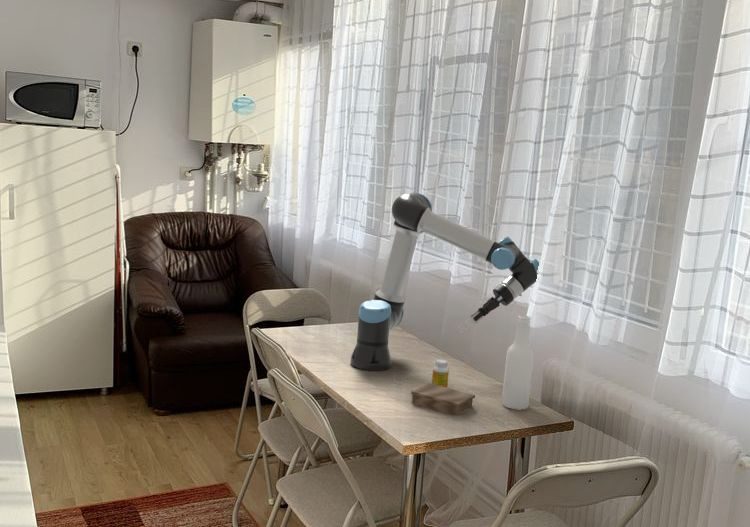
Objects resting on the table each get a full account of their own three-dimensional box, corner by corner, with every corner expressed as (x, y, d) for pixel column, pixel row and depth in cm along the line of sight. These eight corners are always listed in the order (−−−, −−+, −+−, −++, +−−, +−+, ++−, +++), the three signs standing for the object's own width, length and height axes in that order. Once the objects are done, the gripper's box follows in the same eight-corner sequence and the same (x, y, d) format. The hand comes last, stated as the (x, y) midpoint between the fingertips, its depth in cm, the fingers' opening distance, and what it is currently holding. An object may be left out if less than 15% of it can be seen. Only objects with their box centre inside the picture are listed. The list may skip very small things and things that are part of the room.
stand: (409, 403, 252) (410, 391, 252) (427, 394, 262) (428, 383, 262) (457, 416, 243) (458, 403, 243) (474, 407, 253) (475, 395, 253)
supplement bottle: (436, 391, 266) (439, 363, 265) (428, 386, 271) (430, 359, 270) (450, 390, 269) (452, 362, 268) (441, 385, 274) (444, 358, 272)
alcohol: (496, 401, 261) (506, 313, 256) (520, 401, 263) (530, 313, 258) (508, 410, 252) (518, 319, 248) (533, 410, 255) (543, 320, 250)
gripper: (523, 294, 269) (477, 332, 265) (505, 304, 293) (462, 340, 289) (509, 277, 270) (462, 315, 266) (492, 289, 294) (449, 324, 290)
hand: (462, 328), depth 278 cm, fingers open, 13 cm apart
